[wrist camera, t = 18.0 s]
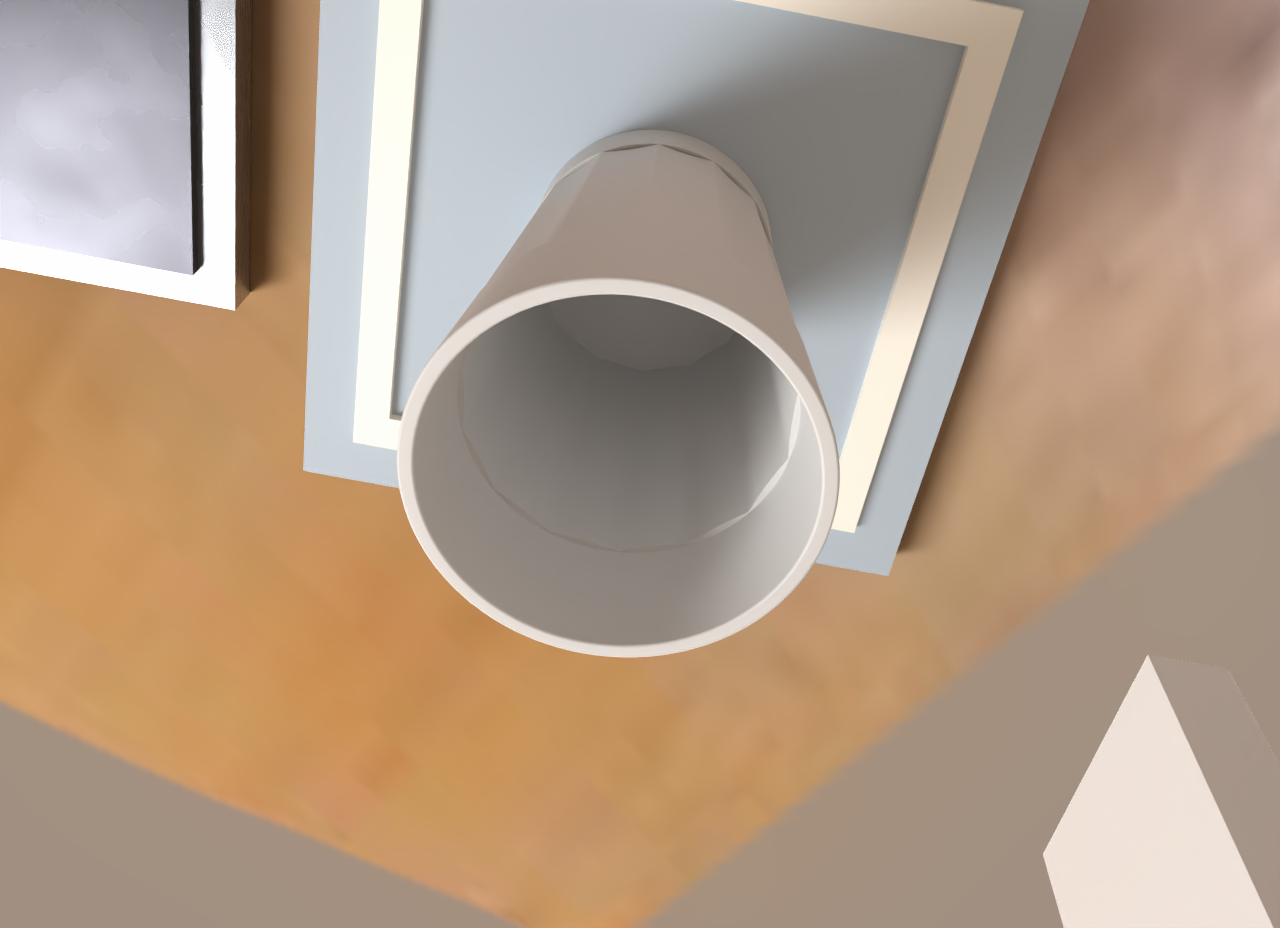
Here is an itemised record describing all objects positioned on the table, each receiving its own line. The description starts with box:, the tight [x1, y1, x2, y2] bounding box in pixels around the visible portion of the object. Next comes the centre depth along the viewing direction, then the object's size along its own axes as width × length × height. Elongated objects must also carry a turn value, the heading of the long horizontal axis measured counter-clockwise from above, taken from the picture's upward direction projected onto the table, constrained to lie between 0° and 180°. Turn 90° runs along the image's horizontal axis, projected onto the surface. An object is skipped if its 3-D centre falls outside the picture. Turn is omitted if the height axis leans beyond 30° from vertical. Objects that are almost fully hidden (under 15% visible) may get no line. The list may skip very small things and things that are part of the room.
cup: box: [397, 129, 840, 657], centre depth 27 cm, size 8×8×12 cm
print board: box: [303, 0, 1090, 576], centre depth 32 cm, size 18×18×1 cm
